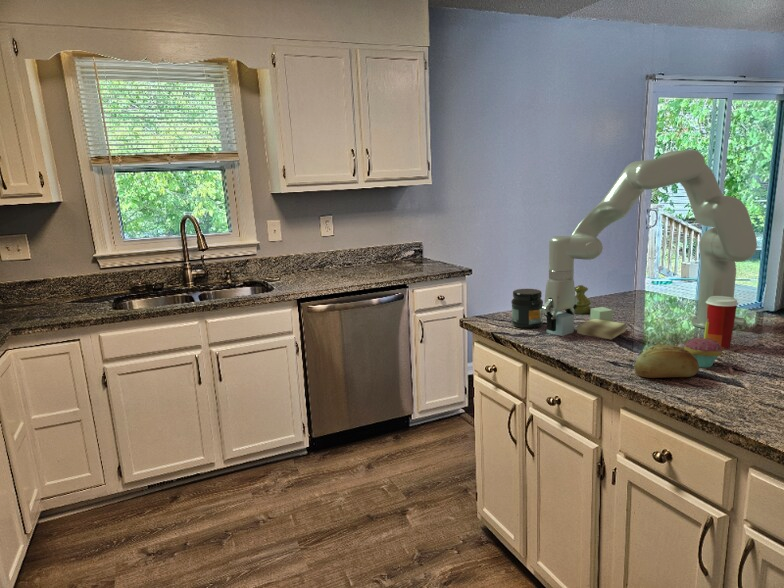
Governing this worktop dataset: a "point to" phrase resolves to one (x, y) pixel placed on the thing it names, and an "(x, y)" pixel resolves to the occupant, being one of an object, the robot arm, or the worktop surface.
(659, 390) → the worktop surface
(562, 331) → the blue cube
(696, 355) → the cupcake
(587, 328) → the maple slab
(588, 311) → the olive pawn figure
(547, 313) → the robot arm
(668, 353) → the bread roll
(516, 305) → the supplement container
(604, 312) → the sage block
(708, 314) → the paper cup
